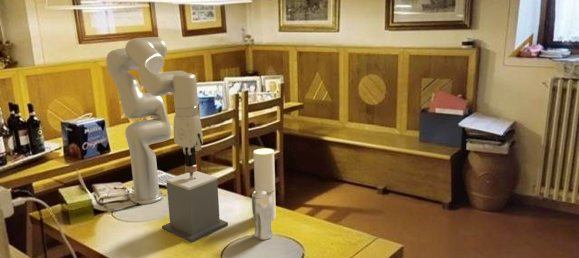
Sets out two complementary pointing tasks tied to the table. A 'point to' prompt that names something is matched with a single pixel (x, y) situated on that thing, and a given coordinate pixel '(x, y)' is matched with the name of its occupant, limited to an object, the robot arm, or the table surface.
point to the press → (193, 206)
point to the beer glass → (262, 213)
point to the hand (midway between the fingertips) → (191, 165)
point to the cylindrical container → (265, 173)
